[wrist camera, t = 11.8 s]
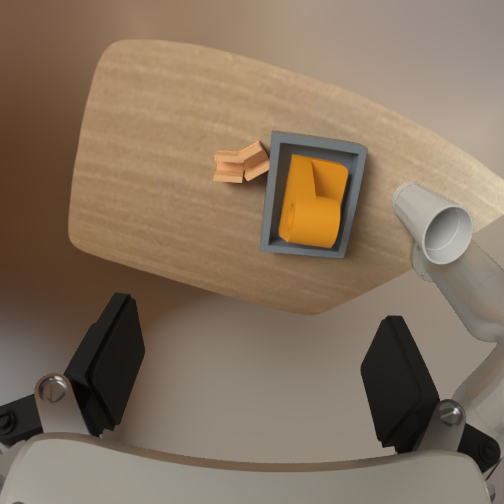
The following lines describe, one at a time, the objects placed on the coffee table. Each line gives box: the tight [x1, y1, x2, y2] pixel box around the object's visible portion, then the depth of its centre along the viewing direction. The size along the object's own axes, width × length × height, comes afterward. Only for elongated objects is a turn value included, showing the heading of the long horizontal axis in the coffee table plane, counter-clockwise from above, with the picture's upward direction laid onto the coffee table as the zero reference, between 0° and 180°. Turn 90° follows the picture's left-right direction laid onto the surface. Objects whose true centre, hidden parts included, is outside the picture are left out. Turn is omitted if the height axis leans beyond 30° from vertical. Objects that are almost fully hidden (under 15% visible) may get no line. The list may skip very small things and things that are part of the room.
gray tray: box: [260, 131, 367, 259], centre depth 40 cm, size 12×16×4 cm
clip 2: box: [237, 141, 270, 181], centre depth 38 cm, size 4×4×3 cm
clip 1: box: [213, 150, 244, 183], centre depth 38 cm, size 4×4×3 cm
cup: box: [392, 181, 474, 264], centre depth 36 cm, size 8×8×12 cm
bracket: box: [278, 154, 348, 248], centre depth 35 cm, size 11×7×12 cm, turn 172°
